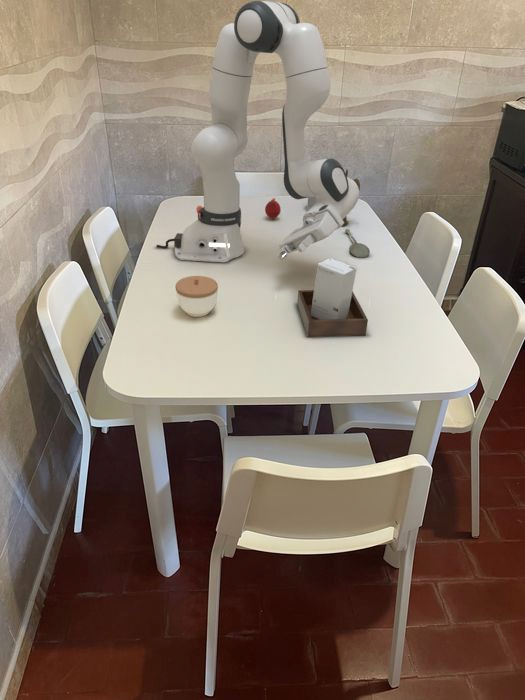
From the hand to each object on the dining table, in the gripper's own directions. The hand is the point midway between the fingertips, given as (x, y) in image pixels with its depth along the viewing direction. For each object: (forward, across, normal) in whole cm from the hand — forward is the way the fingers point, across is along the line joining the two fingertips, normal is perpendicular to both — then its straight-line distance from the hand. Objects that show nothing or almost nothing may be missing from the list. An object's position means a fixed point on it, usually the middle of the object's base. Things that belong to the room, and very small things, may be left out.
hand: (289, 253), depth 141 cm
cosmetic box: (+8, +8, +18) cm, 21 cm away
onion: (-36, -51, -1) cm, 63 cm away
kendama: (-49, -37, +16) cm, 64 cm away
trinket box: (+27, -10, -5) cm, 29 cm away
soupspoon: (-37, -22, +20) cm, 47 cm away
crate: (+8, +8, +18) cm, 21 cm away
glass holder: (-59, -54, +8) cm, 80 cm away
